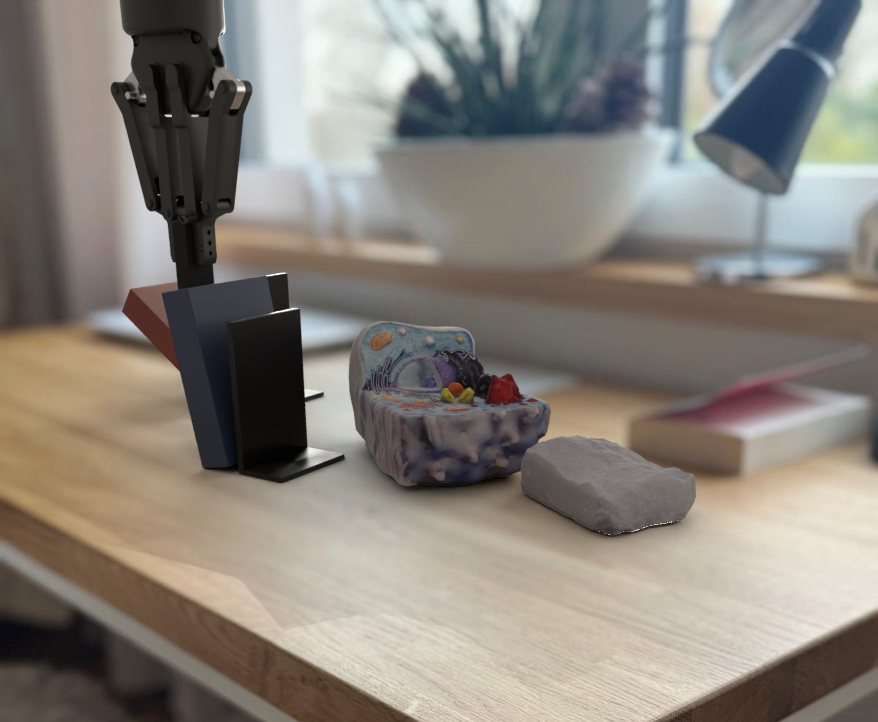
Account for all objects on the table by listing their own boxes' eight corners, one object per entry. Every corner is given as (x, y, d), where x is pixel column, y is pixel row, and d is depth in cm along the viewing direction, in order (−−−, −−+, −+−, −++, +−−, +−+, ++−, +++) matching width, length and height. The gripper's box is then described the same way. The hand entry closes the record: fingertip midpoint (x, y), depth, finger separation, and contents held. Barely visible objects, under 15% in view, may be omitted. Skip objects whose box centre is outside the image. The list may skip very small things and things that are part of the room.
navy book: (160, 293, 84) (187, 287, 82) (240, 279, 91) (266, 275, 89) (202, 468, 88) (228, 467, 86) (275, 443, 95) (301, 441, 93)
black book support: (238, 473, 87) (225, 321, 82) (302, 450, 93) (294, 307, 88) (281, 483, 84) (271, 327, 79) (345, 458, 90) (339, 312, 86)
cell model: (449, 305, 96) (572, 348, 79) (448, 423, 100) (564, 488, 84) (311, 315, 90) (412, 364, 74) (315, 440, 95) (412, 512, 78)
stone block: (610, 495, 86) (504, 489, 81) (625, 437, 85) (518, 427, 80) (707, 548, 77) (594, 544, 72) (725, 483, 75) (612, 475, 70)
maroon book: (121, 311, 112) (129, 288, 110) (184, 300, 119) (193, 278, 117) (208, 402, 109) (218, 379, 107) (268, 385, 116) (279, 364, 114)
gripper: (271, -24, 79) (288, 306, 88) (147, -14, 85) (175, 293, 95) (196, -36, 73) (223, 319, 82) (69, -23, 79) (107, 304, 89)
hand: (197, 305), depth 88 cm, fingers closed
